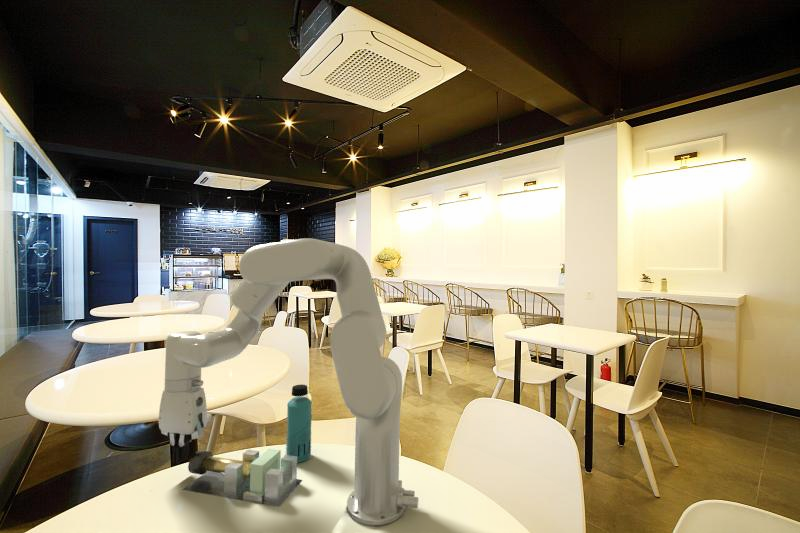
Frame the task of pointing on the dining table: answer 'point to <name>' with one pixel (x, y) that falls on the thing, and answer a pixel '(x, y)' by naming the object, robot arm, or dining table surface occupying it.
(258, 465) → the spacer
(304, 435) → the beverage bottle
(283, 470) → the rig
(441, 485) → the dining table surface
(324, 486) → the dining table surface
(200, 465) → the shaft
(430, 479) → the dining table surface
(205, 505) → the dining table surface
